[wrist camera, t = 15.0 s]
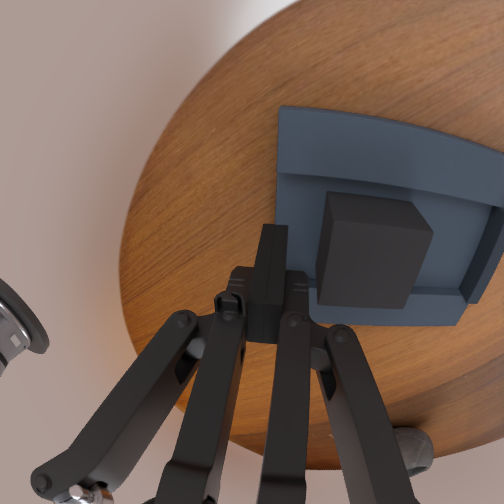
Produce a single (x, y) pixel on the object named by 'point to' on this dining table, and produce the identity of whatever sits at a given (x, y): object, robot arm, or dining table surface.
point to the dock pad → (400, 188)
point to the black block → (369, 251)
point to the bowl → (415, 449)
